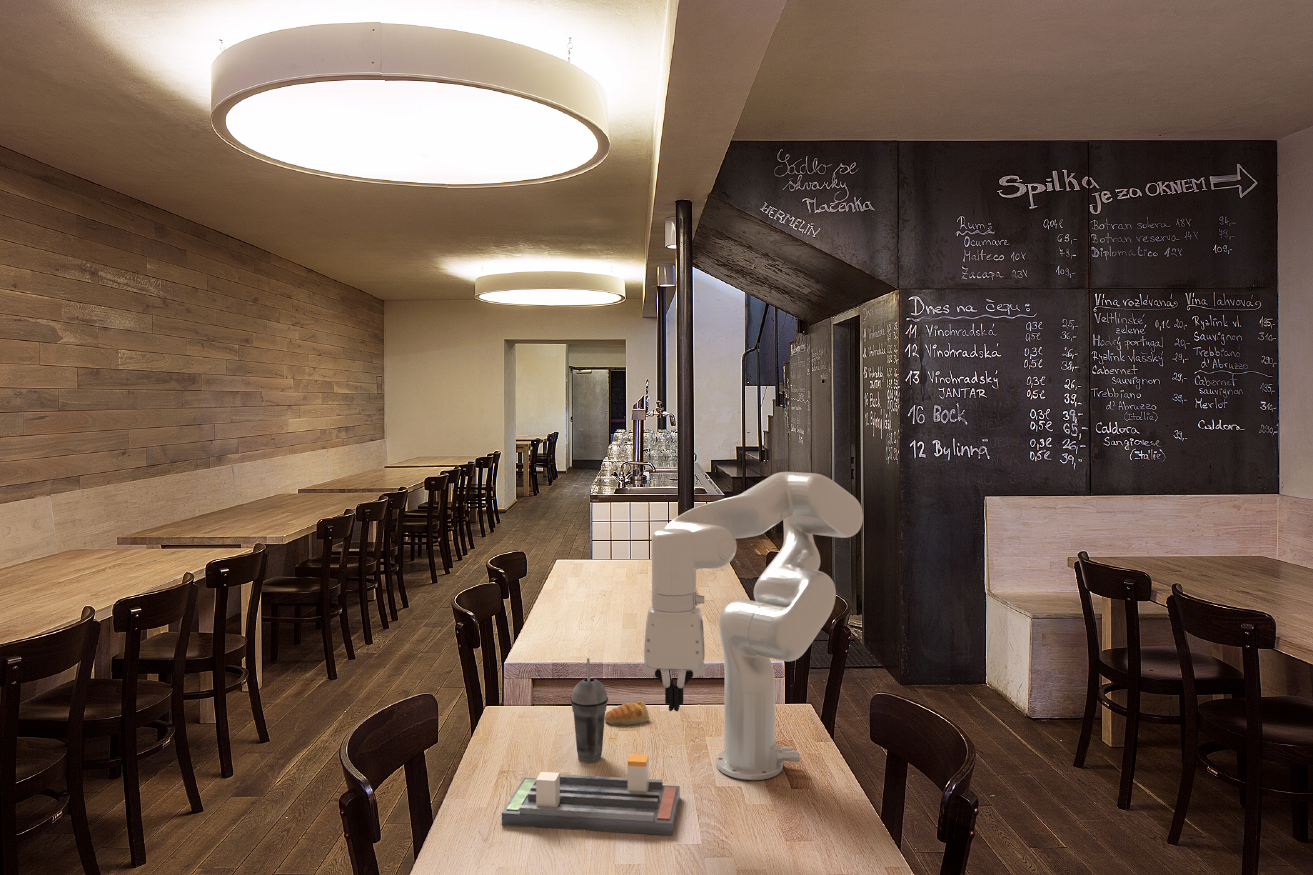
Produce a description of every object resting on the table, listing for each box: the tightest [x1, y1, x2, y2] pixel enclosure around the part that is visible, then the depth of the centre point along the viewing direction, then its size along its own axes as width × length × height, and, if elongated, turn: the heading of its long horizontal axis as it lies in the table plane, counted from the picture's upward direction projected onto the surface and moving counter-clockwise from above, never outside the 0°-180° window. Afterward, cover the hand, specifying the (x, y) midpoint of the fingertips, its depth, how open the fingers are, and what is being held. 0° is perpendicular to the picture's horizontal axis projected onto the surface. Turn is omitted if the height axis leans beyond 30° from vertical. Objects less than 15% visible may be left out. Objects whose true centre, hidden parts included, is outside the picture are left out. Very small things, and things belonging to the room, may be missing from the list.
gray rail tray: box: [501, 773, 681, 836], centre depth 136 cm, size 28×13×3 cm, turn 83°
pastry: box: [604, 700, 650, 726], centre depth 177 cm, size 9×7×4 cm
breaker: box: [536, 771, 560, 807], centre depth 134 cm, size 3×3×5 cm
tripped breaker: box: [627, 753, 650, 792], centre depth 139 cm, size 3×3×6 cm
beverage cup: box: [570, 657, 609, 764], centre depth 157 cm, size 7×7×20 cm
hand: (674, 707), depth 138 cm, fingers closed
